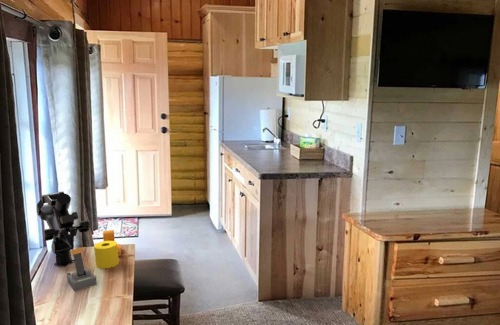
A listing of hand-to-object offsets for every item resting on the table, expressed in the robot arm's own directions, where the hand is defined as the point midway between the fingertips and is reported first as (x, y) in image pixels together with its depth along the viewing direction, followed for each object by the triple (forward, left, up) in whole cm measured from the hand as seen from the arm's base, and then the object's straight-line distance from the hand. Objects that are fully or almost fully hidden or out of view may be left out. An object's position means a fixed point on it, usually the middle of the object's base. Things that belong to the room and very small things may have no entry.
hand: (72, 247), depth 193 cm
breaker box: (+6, +7, -13) cm, 16 cm away
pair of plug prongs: (+1, +1, -13) cm, 13 cm away
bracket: (-26, +2, -13) cm, 29 cm away
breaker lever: (+6, +7, -9) cm, 13 cm away
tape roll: (-14, +6, -13) cm, 21 cm away
